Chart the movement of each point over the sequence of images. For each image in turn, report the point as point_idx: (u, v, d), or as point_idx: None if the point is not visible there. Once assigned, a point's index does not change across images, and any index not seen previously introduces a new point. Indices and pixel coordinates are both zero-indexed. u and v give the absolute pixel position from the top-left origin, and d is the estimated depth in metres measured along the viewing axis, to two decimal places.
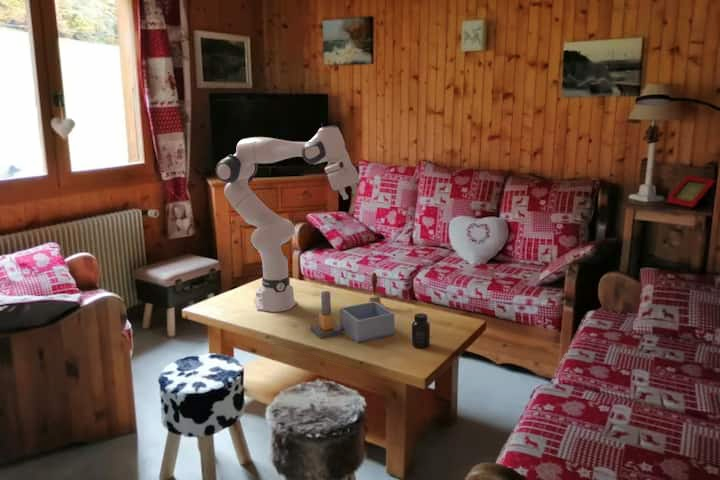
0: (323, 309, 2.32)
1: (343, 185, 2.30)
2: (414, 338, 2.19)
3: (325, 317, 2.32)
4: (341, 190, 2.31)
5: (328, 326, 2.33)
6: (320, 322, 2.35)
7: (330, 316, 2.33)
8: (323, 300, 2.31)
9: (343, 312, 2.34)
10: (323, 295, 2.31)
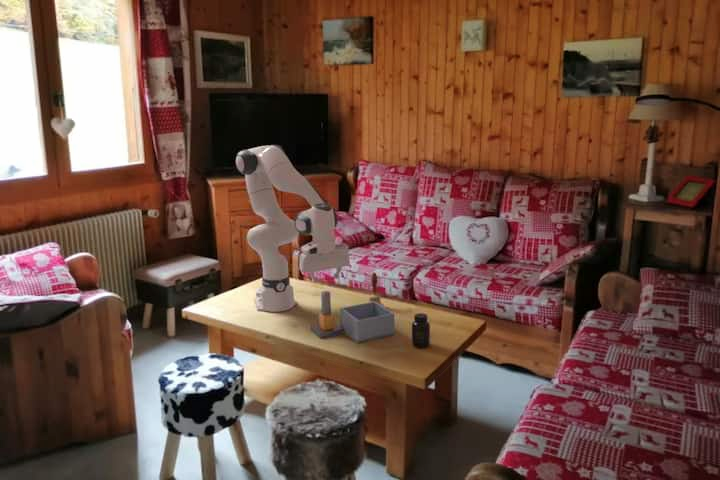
0: (323, 309, 2.32)
1: (310, 270, 2.25)
2: (414, 338, 2.19)
3: (325, 317, 2.32)
4: (310, 273, 2.27)
5: (328, 326, 2.33)
6: (320, 322, 2.35)
7: (330, 316, 2.33)
8: (323, 300, 2.31)
9: (343, 312, 2.34)
10: (323, 295, 2.31)
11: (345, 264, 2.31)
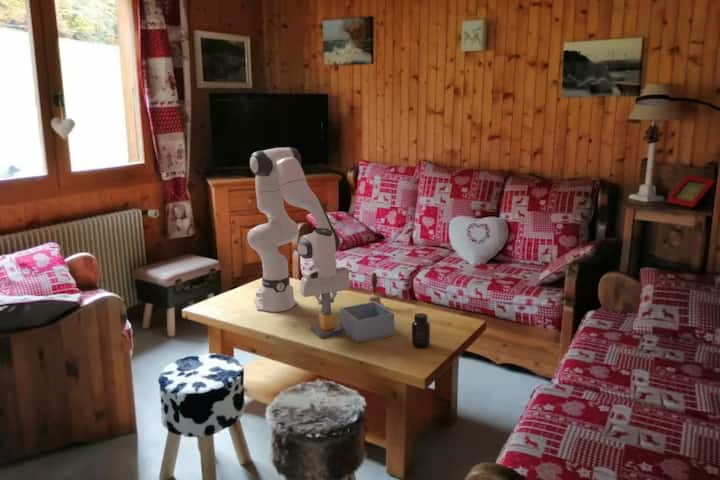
0: (323, 309, 2.32)
1: (311, 294, 2.27)
2: (414, 338, 2.19)
3: (325, 317, 2.32)
4: (315, 296, 2.30)
5: (328, 326, 2.33)
6: (320, 322, 2.35)
7: (330, 316, 2.33)
8: (323, 300, 2.31)
9: (343, 312, 2.34)
10: (323, 295, 2.31)
11: (345, 288, 2.34)
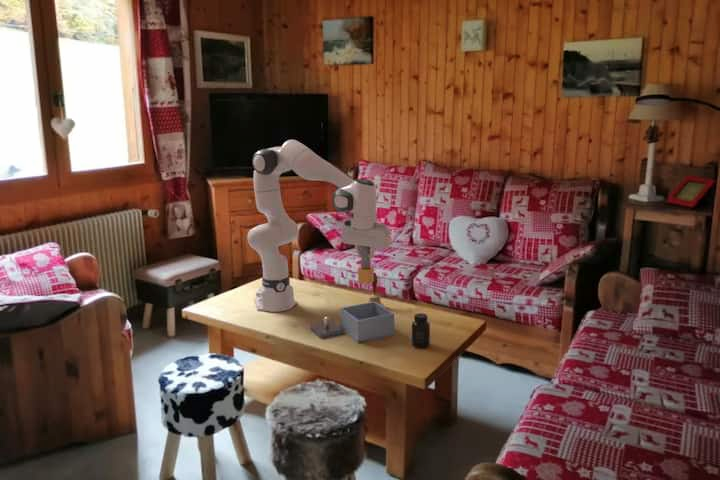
0: (361, 262, 2.28)
1: (348, 242, 2.28)
2: (414, 338, 2.19)
3: (359, 270, 2.28)
4: None
5: (362, 281, 2.28)
6: None
7: (364, 271, 2.27)
8: (361, 252, 2.27)
9: (343, 312, 2.34)
10: (361, 247, 2.27)
11: (380, 246, 2.21)
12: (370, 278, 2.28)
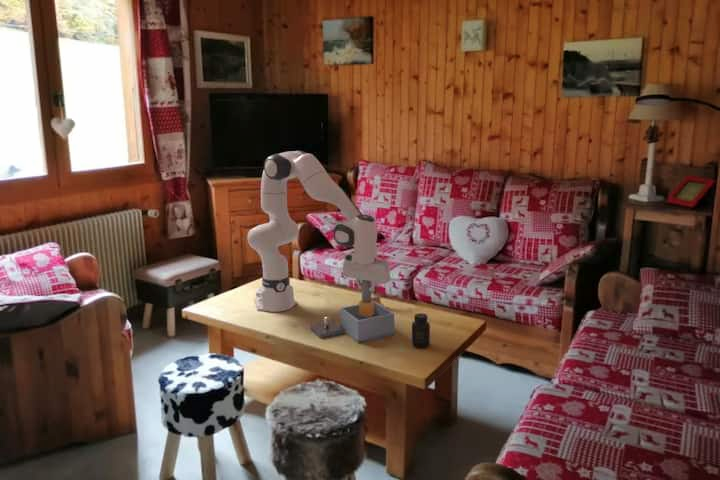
0: (362, 295, 2.32)
1: (349, 275, 2.32)
2: (414, 338, 2.19)
3: (360, 303, 2.31)
4: None
5: (363, 314, 2.31)
6: None
7: (365, 304, 2.30)
8: None
9: (343, 312, 2.34)
10: None
11: (381, 281, 2.24)
12: (371, 311, 2.32)
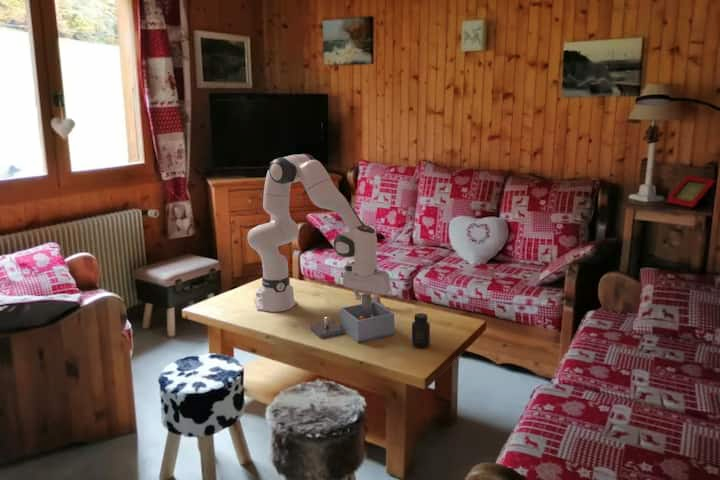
0: (362, 310, 2.33)
1: (349, 286, 2.33)
2: (414, 338, 2.19)
3: (360, 318, 2.33)
4: None
5: None
6: None
7: None
8: None
9: (343, 312, 2.34)
10: None
11: (381, 292, 2.25)
12: None
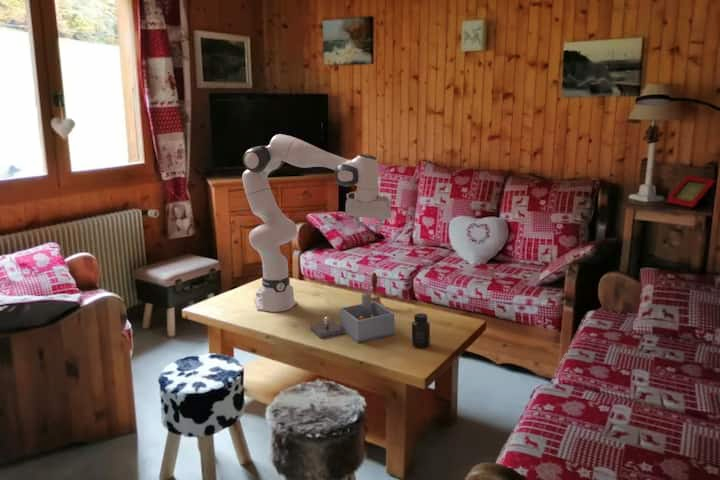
0: (362, 310, 2.33)
1: (351, 214, 2.41)
2: (414, 338, 2.19)
3: (360, 318, 2.33)
4: None
5: None
6: None
7: None
8: None
9: (343, 312, 2.34)
10: None
11: (382, 217, 2.33)
12: None
